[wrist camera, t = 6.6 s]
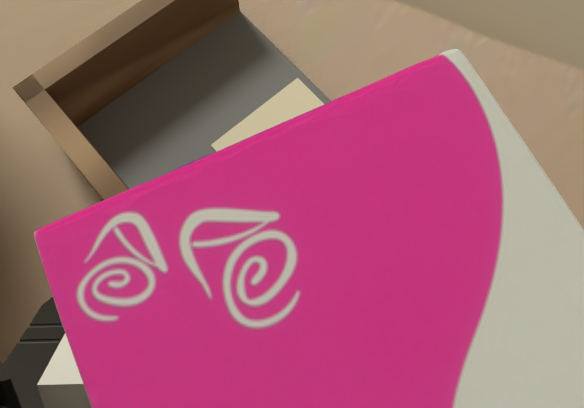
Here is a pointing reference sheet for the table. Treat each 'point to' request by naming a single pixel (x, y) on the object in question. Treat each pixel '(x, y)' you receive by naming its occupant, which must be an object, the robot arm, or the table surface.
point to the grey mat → (201, 103)
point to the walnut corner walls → (114, 73)
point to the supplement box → (335, 265)
